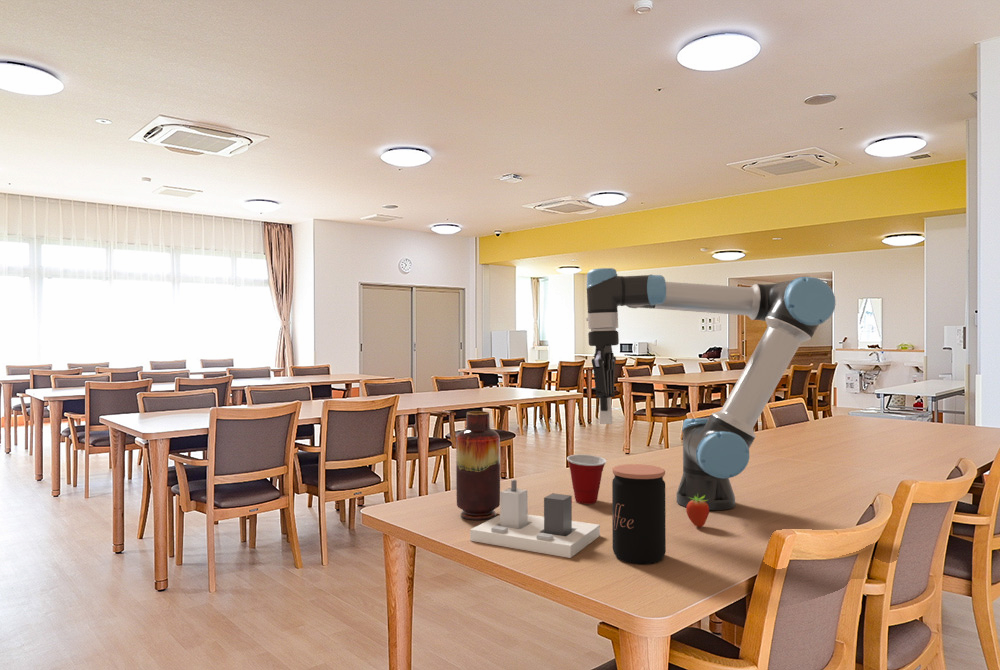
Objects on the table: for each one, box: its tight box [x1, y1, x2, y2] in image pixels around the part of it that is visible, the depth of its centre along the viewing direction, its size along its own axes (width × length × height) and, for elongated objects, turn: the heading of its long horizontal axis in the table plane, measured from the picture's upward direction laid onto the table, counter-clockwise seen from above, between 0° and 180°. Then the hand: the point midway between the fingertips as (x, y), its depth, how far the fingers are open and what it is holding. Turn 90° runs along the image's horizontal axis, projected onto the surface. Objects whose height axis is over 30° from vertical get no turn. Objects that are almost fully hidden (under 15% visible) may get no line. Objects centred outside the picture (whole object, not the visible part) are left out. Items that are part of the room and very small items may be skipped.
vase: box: [455, 410, 501, 521], centre depth 167 cm, size 11×11×26 cm
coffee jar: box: [611, 463, 667, 565], centre depth 136 cm, size 11×11×18 cm
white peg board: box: [469, 479, 601, 559], centre depth 148 cm, size 24×17×12 cm
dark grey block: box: [543, 492, 573, 536], centre depth 146 cm, size 5×5×10 cm
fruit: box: [685, 494, 710, 528], centre depth 156 cm, size 5×5×8 cm
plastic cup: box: [566, 453, 607, 505], centre depth 181 cm, size 11×11×12 cm
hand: (606, 423), depth 167 cm, fingers closed
